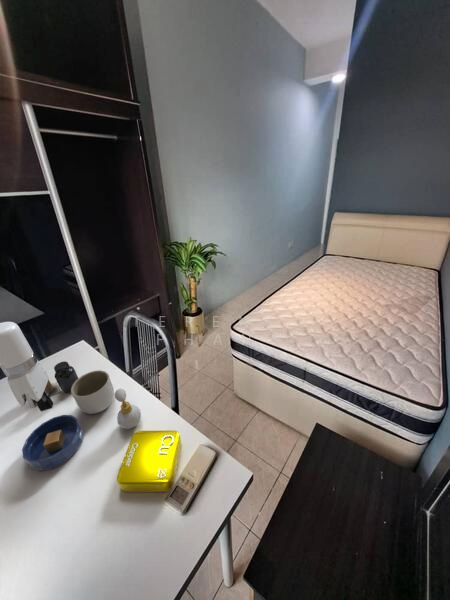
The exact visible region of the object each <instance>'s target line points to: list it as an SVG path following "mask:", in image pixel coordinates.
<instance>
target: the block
mask: <svg viewBox="0 0 450 600" xmlns="http://www.w3.org/2000/svg"><path fill="white" fill-rule="evenodd" d="M65 438H66V437H65V435H64V434H63V432H62V430H58V431H55V432H51V433H48V434H47V436H46V439H45V442H44V445H43V446H44V447H45V448H46V450H47V451H48V453H50V452H53V451H56V450H60V449H63V445H64V442H65Z"/></svg>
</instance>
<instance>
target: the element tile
mask: <svg viewBox="0 0 450 600" xmlns="http://www.w3.org/2000/svg"><path fill="white" fill-rule="evenodd" d="M181 448H182V439H181V435H180V432H179V431H178V430H138V431H136V432H134V433H133V434H132V436H131V439H130V441H129V444H128V447H127V449H126V452H125V454H124V457H123V460H122V463H121V465H120V468H119V471H118V474H117V476H116V482H117V483H118V485H119V487H120V488H119V489H121V491H122V492H126V493H127V492H128V493H129V492H130V493H167V492H169V491H170V490H171V489H172V488H173V487H174V484H175V479H176V475H177V470H178V464H179V460H180V459H179V458H180V454H181V450H182V449H181ZM172 486H173V487H172Z"/></svg>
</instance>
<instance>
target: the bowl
mask: <svg viewBox="0 0 450 600" xmlns="http://www.w3.org/2000/svg"><path fill="white" fill-rule="evenodd" d="M58 430H62V432H63V434H64V435H65V437H66V438H65V442H64V445H63V449H60V450H56V451H53V452H50V453H48V451H47V450H46V448H45V447H44V446H43V445H44V442H45V439H46V436H47V434H48V433H51V432H55V431H58ZM84 435H85V432H84V430H83V427H82V424H81V423H80V420H79V419H78V417H76V416H74V415H73V414H61V415H57V416H54V417H51V418H50V419H48V420H46V421H44V422H42V423H41V424H40V425H38V427H36V428H35V429H34V430H32V431H31V433H30V434H29V436H28V437H27V438H26V440H25V441H24V443H23V446H22V449H21V452H22V458H23V459H24V460H25V462H26V463H27V464H28V466H29V467H30V468H32V469H33V470H34V471H40V472H41V471H43V472H44V471H49V470H52V469H55V468H57V467H59V466H60V465H63V464H64V463H65V462H67V461H68V460H70V459H71V457H73V455H75V453H76V452H77V451H78V449H79V448H80V446H81V444H82V442H83V439H84Z"/></svg>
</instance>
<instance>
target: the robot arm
mask: <svg viewBox="0 0 450 600" xmlns="http://www.w3.org/2000/svg"><path fill="white" fill-rule="evenodd" d="M0 369H1V370H2V372H3V374H4V375H5V377H6V378H7V383H8V385H9V388H10V391H11V392H12V394H13V396H14V398H15V399H16V401H17V402H18V404H19V405H20V406H25V405H26V403H27V404H28V407H29V409H30V410H32V409H36V408H38V409H39V411H41V412H45V411H48V410H52V409H53V406H54V402H53V400H52V399H51V396H47V395H48V391H47V389H46V385H47V382H48V379H49V375H48V373H47V372H46V370H45V368H44V367H43V365H42V364H41V362H40V361H39V359H38V358H37V356H36V354H35V352H34V351H33V349H32V347H31V345H30V344H29V341H28V340H27V338H26V337H25V335H24V333H23V331H22V329H21V328H20V326H19V325H18V324H17V323H16V322H13V321H2V322H0Z"/></svg>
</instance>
